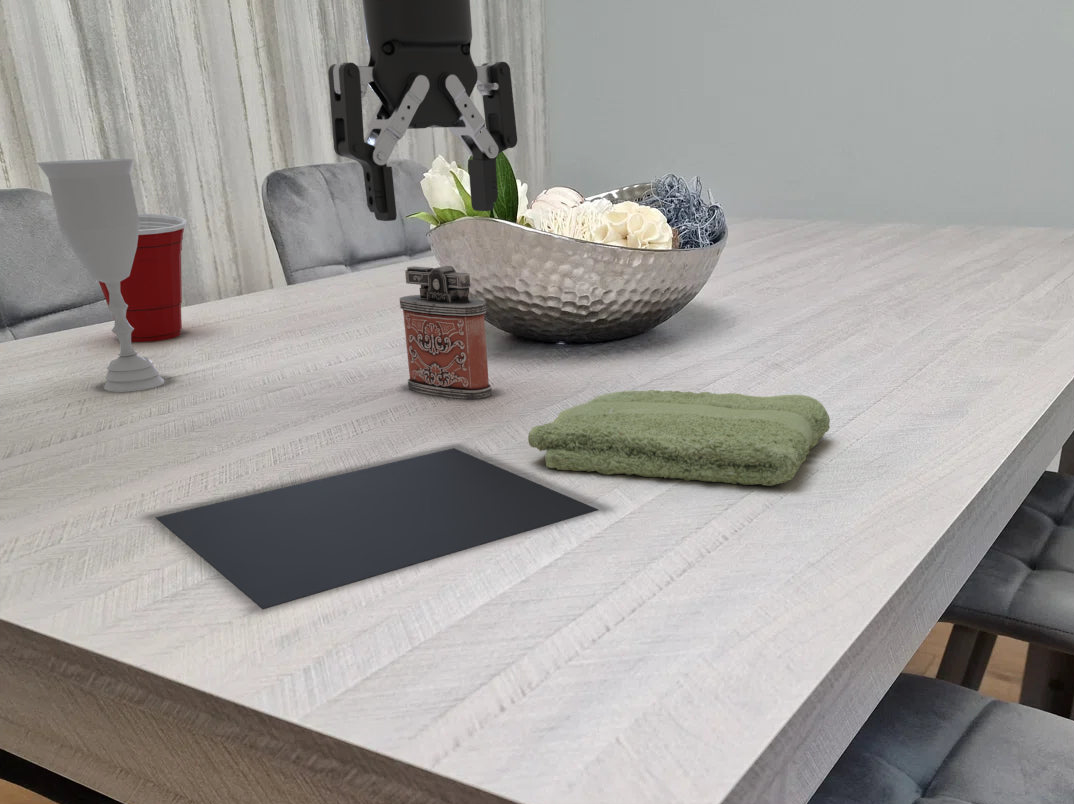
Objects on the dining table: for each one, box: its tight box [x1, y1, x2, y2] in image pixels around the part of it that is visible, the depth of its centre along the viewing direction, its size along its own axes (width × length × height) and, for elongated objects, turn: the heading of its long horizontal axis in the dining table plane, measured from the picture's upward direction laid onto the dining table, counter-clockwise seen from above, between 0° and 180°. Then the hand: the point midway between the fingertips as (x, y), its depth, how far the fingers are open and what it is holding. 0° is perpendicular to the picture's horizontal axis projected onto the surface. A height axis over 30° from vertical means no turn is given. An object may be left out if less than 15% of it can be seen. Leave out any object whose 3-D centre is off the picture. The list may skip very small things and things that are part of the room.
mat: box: [155, 447, 600, 610], centre depth 60 cm, size 20×16×1 cm
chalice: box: [37, 158, 165, 393], centre depth 86 cm, size 7×7×18 cm
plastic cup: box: [98, 213, 188, 343], centre depth 107 cm, size 11×11×12 cm
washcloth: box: [527, 389, 831, 487], centre depth 69 cm, size 13×18×3 cm
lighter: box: [399, 265, 493, 401], centre depth 83 cm, size 8×3×10 cm, turn 56°
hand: (435, 215), depth 80 cm, fingers open, 8 cm apart
